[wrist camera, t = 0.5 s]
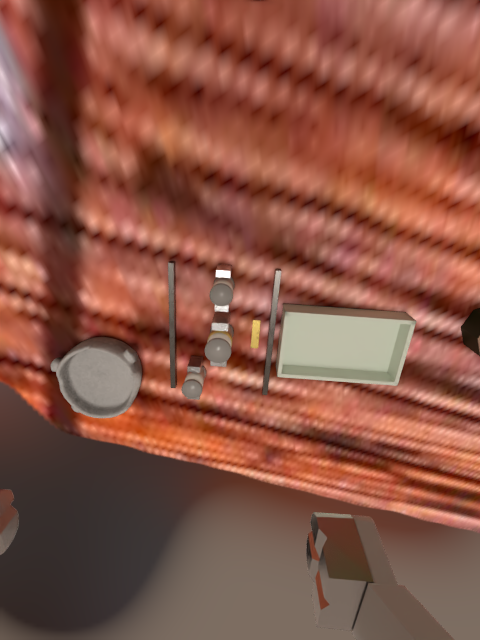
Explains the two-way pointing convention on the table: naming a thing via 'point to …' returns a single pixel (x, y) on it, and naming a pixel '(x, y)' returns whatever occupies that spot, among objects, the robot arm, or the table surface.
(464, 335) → the wine bottle
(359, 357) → the tray
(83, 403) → the dish
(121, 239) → the table surface
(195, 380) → the fuse cartridge near camera
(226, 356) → the cylinder
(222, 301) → the fuse cartridge near arm
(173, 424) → the table surface
